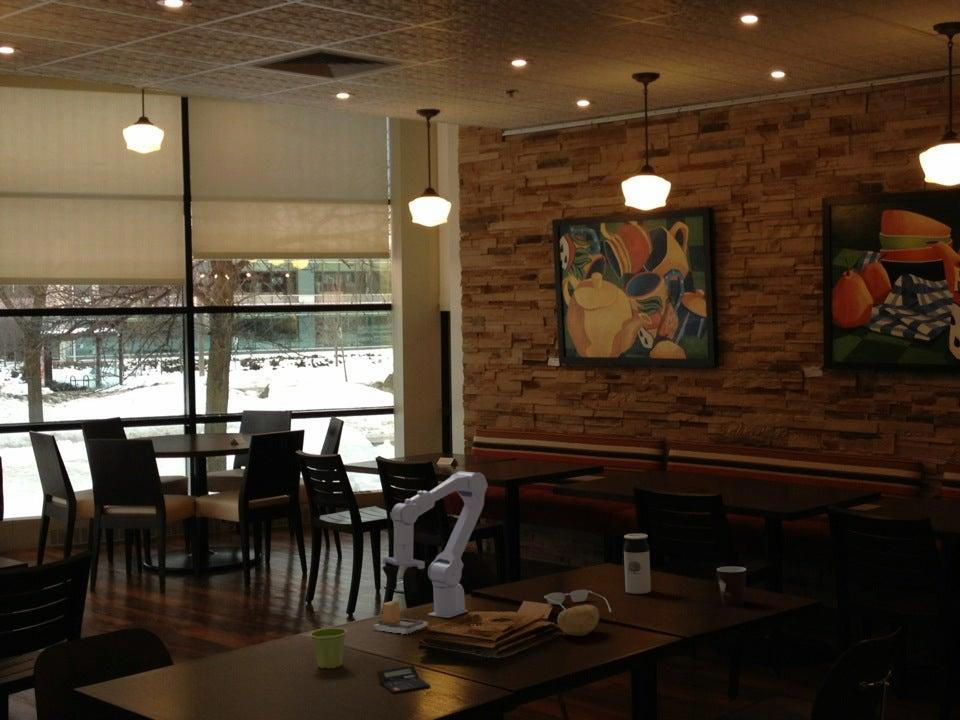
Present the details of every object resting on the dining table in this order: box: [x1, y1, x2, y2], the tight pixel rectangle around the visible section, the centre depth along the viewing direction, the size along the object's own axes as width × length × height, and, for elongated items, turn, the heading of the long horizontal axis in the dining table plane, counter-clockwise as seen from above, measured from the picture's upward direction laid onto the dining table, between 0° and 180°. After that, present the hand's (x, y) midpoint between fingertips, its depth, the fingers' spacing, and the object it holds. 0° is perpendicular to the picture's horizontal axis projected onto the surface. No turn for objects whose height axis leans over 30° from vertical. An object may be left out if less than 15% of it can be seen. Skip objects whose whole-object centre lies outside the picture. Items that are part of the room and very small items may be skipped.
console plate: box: [373, 617, 429, 635], centre depth 339 cm, size 10×12×2 cm
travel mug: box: [623, 533, 652, 595], centre depth 375 cm, size 8×8×18 cm
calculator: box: [376, 665, 431, 695], centre depth 283 cm, size 9×12×3 cm
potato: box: [557, 604, 600, 637], centre depth 323 cm, size 10×14×8 cm
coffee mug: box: [715, 566, 747, 606], centre depth 356 cm, size 12×9×10 cm
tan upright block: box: [381, 600, 401, 623], centre depth 341 cm, size 4×3×6 cm
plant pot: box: [309, 627, 348, 670], centre depth 302 cm, size 9×9×9 cm
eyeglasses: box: [543, 589, 612, 613], centre depth 355 cm, size 15×18×4 cm
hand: (402, 591), depth 345 cm, fingers open, 7 cm apart
